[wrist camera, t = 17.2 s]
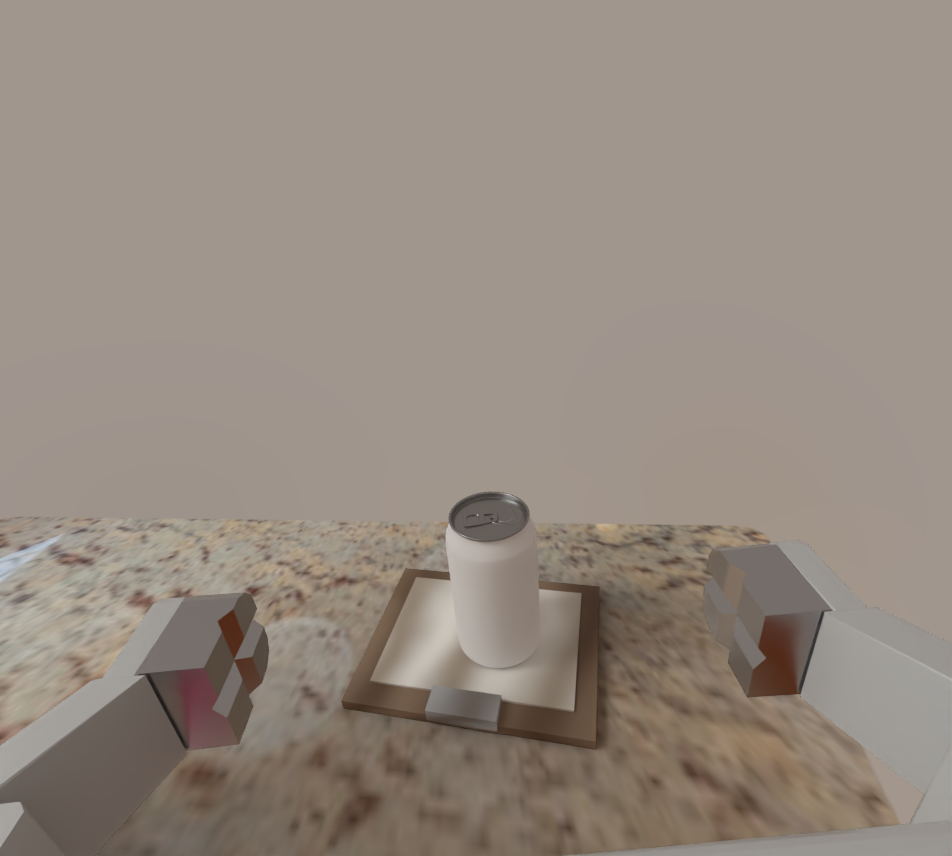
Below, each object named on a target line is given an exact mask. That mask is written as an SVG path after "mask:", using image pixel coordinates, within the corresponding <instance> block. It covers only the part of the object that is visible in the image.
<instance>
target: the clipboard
mask: <svg viewBox="0 0 952 856" xmlns="http://www.w3.org/2000/svg"><path fill="white" fill-rule="evenodd" d="M539 607H540V640H539V643H538V646H537V648H536V649H535V651H534V652H533V653H532V655H531V656H530V657H528V658H527V659H526V660H524V661H523V662H521V663H519V664H517V665H514V666H511V667H507V668H490V667H485V666H482V665H480V664H477V663H476V662H474V661H472V660H471V659H470V658H469V657H468V656H467V655H466V654H465V653H464V651H463V650H462V648H461V645H460V642H459V637H458V630H457V624H456V616H455V609H454V602H453V595H452V587H451V580H450V573H449V572H438V571H428V570H417V569H405V571H404V573H403V575H402V577H401V579H400V581H399V583H398V585H397V587H396V589H395V591H394V594H393V596H392V598H391V600H390V602H389V604H388V606H387V608H386V610H385V612H384V614H383V616H382V618H381V620H380V623H379V625H378V627H377V629H376V631H375V633H374V635H373V637H372V639H371V641H370V643H369V645H368V647H367V649H366V652H365V654H364V656H363V658H362V660H361V662H360V664H359V666H358V668H357V670H356V672H355V674H354V676H353V678H352V681H351V683H350V685H349V687H348V689H347V691H346V693H345V695H344V697H343V699H342V704H343V707H344V708H346V709H352V710H358V711H365V712H371V713H377V714H383V715H389V716H395V717H401V718H407V719H414V720H420V721H426V722H432V723H438V724H444V725H450V726H456V727H463V728H469V729H475V730H481V731H487V732H493V733H499V734H505V735H512V736H518V737H524V738H530V739H536V740H542V741H548V742H554V743H561V744H567V745H573V746H579V747H585V748H591V749H596V718H597V674H598V630H599V587H597V586H587V585H576V584H566V583H555V582H544V581H539Z"/></svg>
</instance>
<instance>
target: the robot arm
mask: <svg viewBox="0 0 952 856" xmlns="http://www.w3.org/2000/svg"><path fill="white" fill-rule="evenodd" d="M707 568H708V569H709V571H710V573H711V574H712V576H713V578H712V579H711V580H710V581H709V582H708V583H707V584H706V585H705V586H704V592H703V607H704V613H705V618H706V621H707V623H708V626H709V629H710V631H711V633H712V635H713V636H714V638H715V640H716V641H717V642H719V643H720V644H722V645H723V646H725V647H726V648H728V649H729V650H730V653H729V658H728V664H729V666H730V667H731V669H732V671H733V673H734V675H735V676H736V678H737V680H738V682H739V683H740V685H741V687H742V689H743V691H744V692H745V694H746V696H747V697H761V696H777V695H792V694H801V695H800V697H801V698H802V699H803V700H805V701H806V702H807V703H809V704H810V705H811V706H812V707H814V708H815V709H816V710H817V711H819V712H820V713H821V714H822V715H824V716H825V717H826V718H828V719H829V720H830V721H831V722H833V723H834V724H835V725H836V726H838V727H839V728H840V729H841V730H843V731H844V732H845V733H847V734H848V735H849V736H850V737H852V738H853V739H854V740H855V741H857V742H858V743H859V744H861V745H862V746H863V747H864V748H866V749H867V750H868V751H869V752H871V753H872V754H873V755H874V756H876V757H877V758H878V759H880V760H881V761H882V762H883V763H885V764H886V765H887V766H888V767H890V768H891V769H892V770H894V771H895V772H896V773H897V774H899V775H900V776H901V777H902V778H904V779H905V780H906V781H907V782H909V783H910V784H911V785H913V786H914V787H915V788H916V789H918V790H919V791H920V792H921V793H923V794H924V795H923V797H922V799H921V801H920V803H919V805H918V806H917V808H916V811H915V812H914V815H913V816H912V818H911V822H910V824H902V825H891V826H880V827H869V828H858V829H848V830H837V831H826V832H815V833H804V834H793V835H783V836H772V837H761V838H750V839H739V840H728V841H717V842H706V843H695V844H684V845H673V846H662V847H651V848H640V849H630V850H619V851H608V852H597V853H586V854H575V855H564V856H952V643H950V642H948V641H946V640H944V639H942V638H940V637H938V636H936V635H934V634H932V633H929V632H927V631H926V630H923V629H921V628H919V627H917V626H915V625H913V624H911V623H909V622H907V621H905V620H903V619H900V618H898V617H897V616H894V615H892V614H890V613H888V612H886V611H884V610H882V609H880V608H878V607H876V608H875V607H874V608H867V607H866V605H864V603H863V602H862V601H861V600H860V599H859V598H858V597H857V596H856V595H855V594H854V593H853V592H852V591H851V590H850V588H848V587H847V585H846V584H844V582H843V581H842V580H841V579H840V578H839V577H838V576H837V575H836V574H835V573H834V571H833V570H832V569H831V568H830V567H829V566H828V565H827V564H826V563H825V562H824V561H823V560H822V559H821V558H820V557H819V556H818V555H817V554H816V552H815V551H814V550H813V549H812V548H811V547H810V546H809V545H808V544H807V543H805V542H803V541H801V540H793V541H784V542H775V543H770V544H760V545H750V546H740V547H730V548H720V549H713V550H712V551H711V553H710V555H709V558H708V564H707ZM256 610H257V607H256V605H255V603H254V600H253V598H252V595H250V594H247V593H232V594H218V595H203V596H190V597H184V598H168V599H161V600H159V601H158V602H156V603H154V604H153V605H152V606H151V608H150V609H149V611H148V612H147V614H146V615H145V617H144V618H143V620H142V621H141V623H140V624H139V625H138V627H137V628H136V630H135V631H134V633H133V634H132V636H131V637H130V639H129V640H128V642H127V643H126V645H125V646H124V647H123V649H122V650H121V652H120V653H119V655H118V656H117V658H116V659H115V661H114V662H113V664H112V665H111V667H110V668H109V669H108V671H107V672H106V674H105V675H104V677H103V678H102V679H96V680H92V681H90V682H89V683H87V684H86V685H85V686H83V687H82V688H80V689H79V690H78V691H76V692H75V693H73V694H72V695H71V696H69V697H68V698H66V699H65V700H64V701H62V702H61V703H59V704H58V705H57V706H55V707H54V708H52V709H51V710H50V711H48V712H47V713H45V714H44V715H43V716H41V717H40V718H38V719H37V720H36V721H34V722H33V723H31V724H30V725H29V726H27V727H26V728H24V729H23V730H22V731H20V732H19V733H17V734H16V735H14V736H13V737H12V738H10V739H9V740H7V741H6V742H5V743H3V744H2V745H0V856H95V855H96V854H97V853H98V852H99V851H100V849H101V848H102V847H103V846H104V845H105V844H106V843H107V842H108V841H109V840H110V838H111V837H112V836H113V835H114V834H115V833H116V832H117V831H118V830H119V828H120V827H121V826H122V825H123V824H124V823H125V822H126V821H127V820H128V819H129V817H130V816H131V815H132V814H133V813H134V812H135V811H136V810H137V809H138V807H139V806H140V805H141V804H142V803H143V802H144V801H145V800H146V799H147V798H148V796H149V795H150V794H151V793H152V792H153V791H154V790H155V789H156V788H157V786H158V785H159V784H160V783H161V782H162V781H163V780H164V779H165V778H166V777H167V775H168V774H169V773H170V772H171V771H172V770H173V769H174V768H175V767H176V765H177V764H178V763H179V762H180V761H181V760H182V759H183V758H184V757H185V756H186V754H187V750H196V749H204V748H212V747H220V746H228V745H237V744H239V743H240V741H241V738H242V735H243V733H244V730H245V727H246V724H247V722H248V719H249V716H250V714H251V711H252V708H253V705H252V702H251V700H250V697H249V694H250V693H251V692H252V691H253V690H255V689H256V688H257V687H258V686H259V685H260V684H261V683H262V681H263V678H264V675H265V672H266V669H267V663H268V654H269V646H268V638H267V635H266V632H265V629H264V627H263V626H262V625H260V624H259V623H257V622H256V621H255V620H253V617H254V615H255V612H256Z"/></svg>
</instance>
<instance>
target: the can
mask: <svg viewBox="0 0 952 856" xmlns="http://www.w3.org/2000/svg"><path fill="white" fill-rule="evenodd" d="M446 549H447V557H448V565H449V573H450V580H451V587H452V595H453V602H454V609H455V616H456V624H457V630H458V637H459V642H460V645H461V648H462V650H463V651H464V653H465V654H466V655H467V656H468V657H469V658H470V659H471V660H472V661H474V662H476V663H477V664H480V665H482V666H485V667H490V668H507V667H511V666H514V665H517V664H519V663H521V662H523V661H524V660H526V659H527V658H528V657H530V656H531V655H532V653H533V652H534V651H535V649H536V648H537V646H538V643H539V640H540V607H539V581H538V558H537V538H536V529H535V526H534V523H533V521H532V520H531V518H530V516H529V509H528V507H527V505H526V504H525V503H524V502H523V501H522V500H521V499H519V498H518V497H516V496H513V495H511V494H507V493H501V492H483V493H477V494H474V495H471V496H468V497H466V498H464V499H462V500H461V501H459V502H458V503H457V504H456V505H455V506H454V507H453V508H452V509H451V511H450V514H449V525H448V528H447V531H446Z"/></svg>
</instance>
